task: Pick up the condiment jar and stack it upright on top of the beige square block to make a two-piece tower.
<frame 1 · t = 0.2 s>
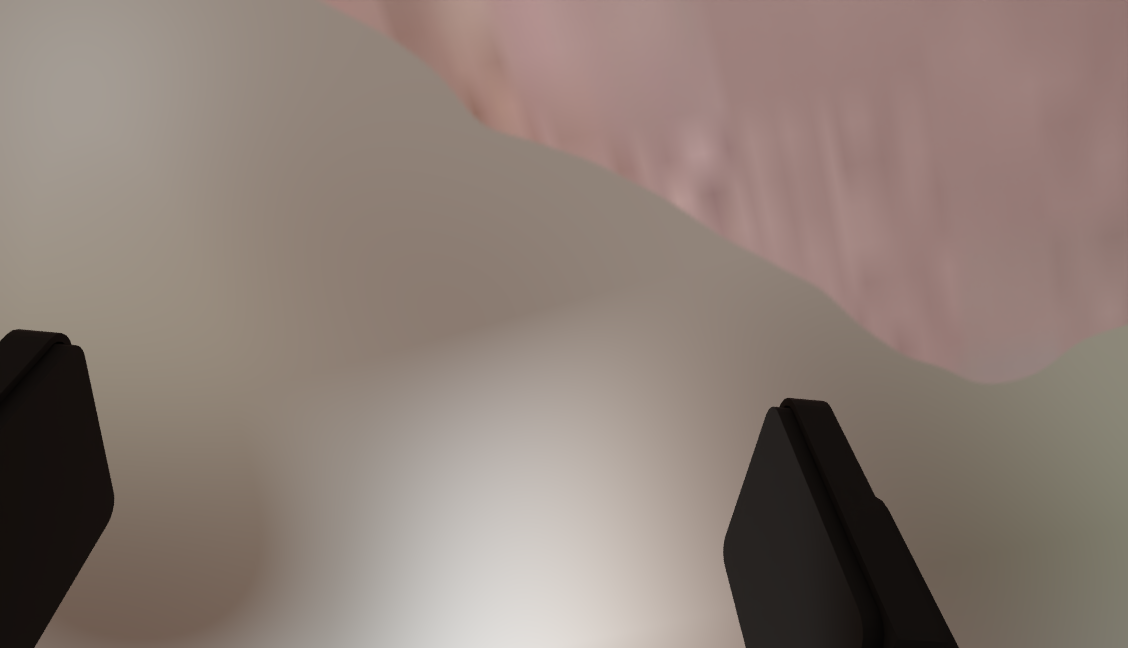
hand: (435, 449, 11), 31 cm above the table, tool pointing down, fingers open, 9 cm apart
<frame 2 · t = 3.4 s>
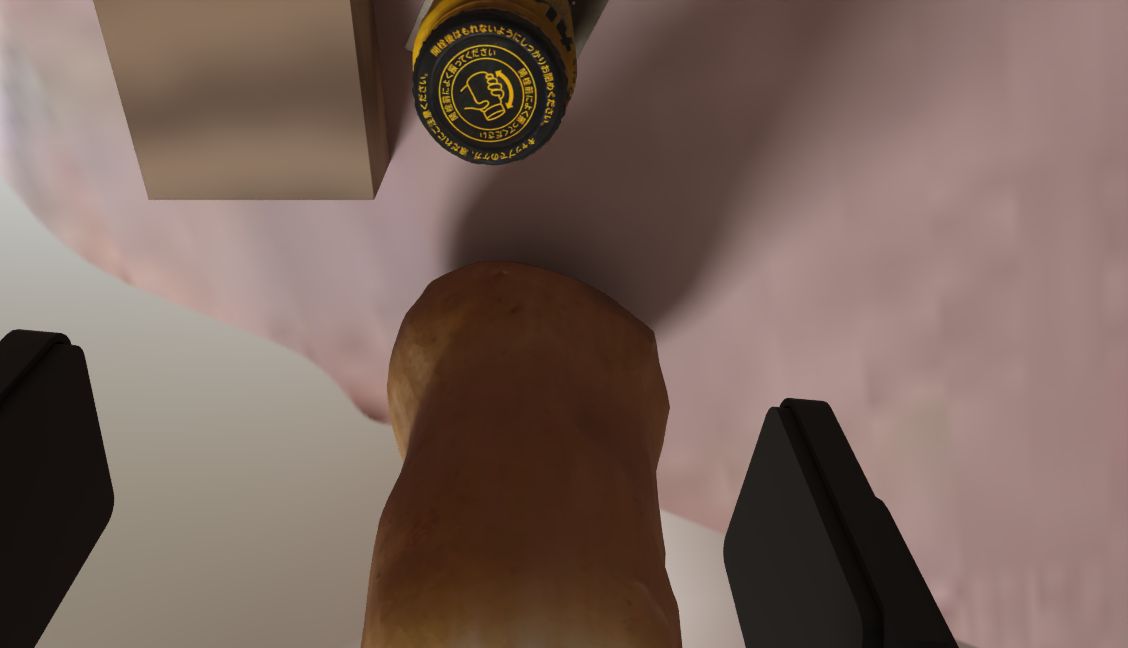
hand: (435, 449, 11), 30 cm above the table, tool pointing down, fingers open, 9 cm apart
butternut squash: (530, 321, 46), on the table
beige square block: (272, 57, 38), on the table
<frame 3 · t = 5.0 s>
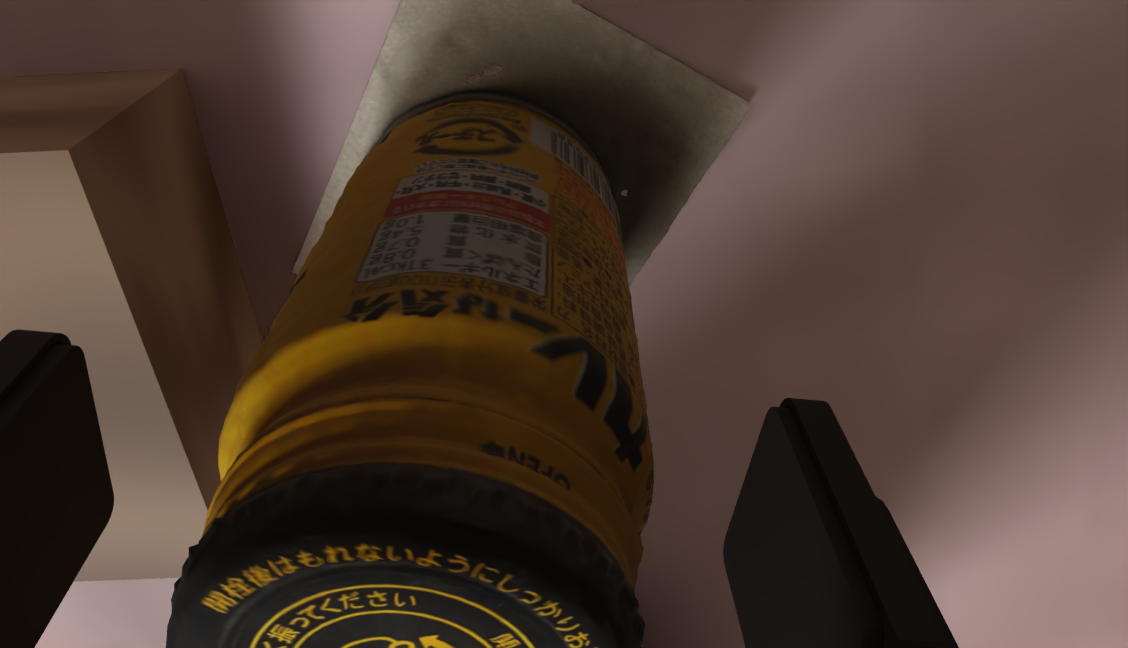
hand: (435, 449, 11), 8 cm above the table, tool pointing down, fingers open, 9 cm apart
condiment: (508, 185, 19), on the table
beige square block: (43, 281, 20), on the table
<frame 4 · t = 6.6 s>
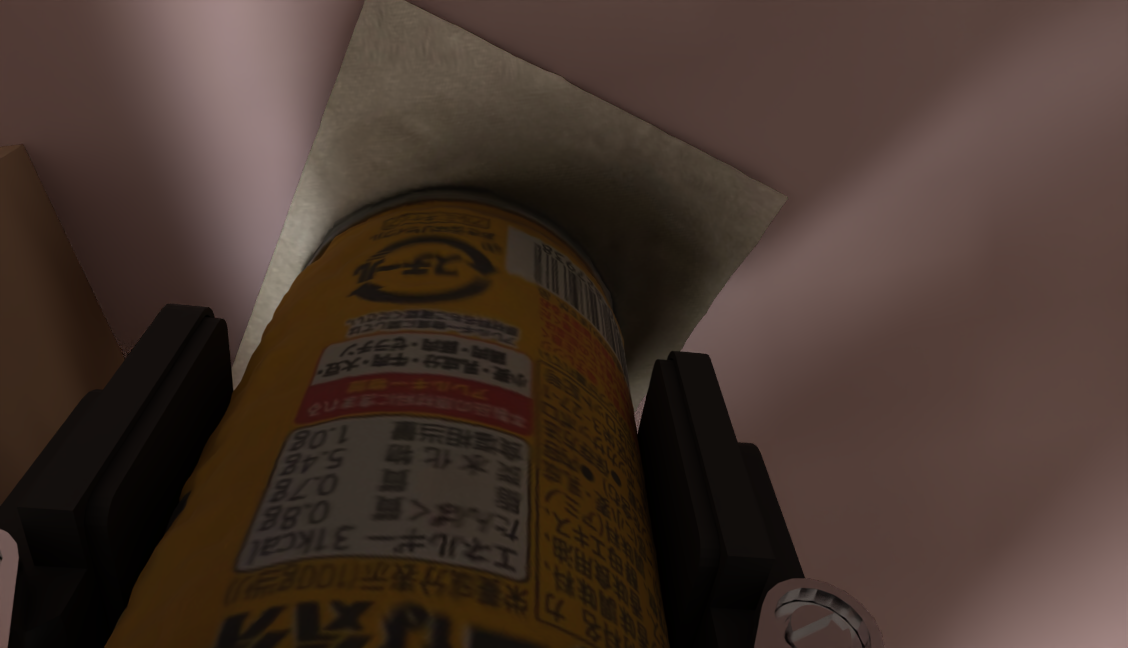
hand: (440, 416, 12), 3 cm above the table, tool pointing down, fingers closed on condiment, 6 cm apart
condiment: (483, 295, 15), on the table, touching gripper
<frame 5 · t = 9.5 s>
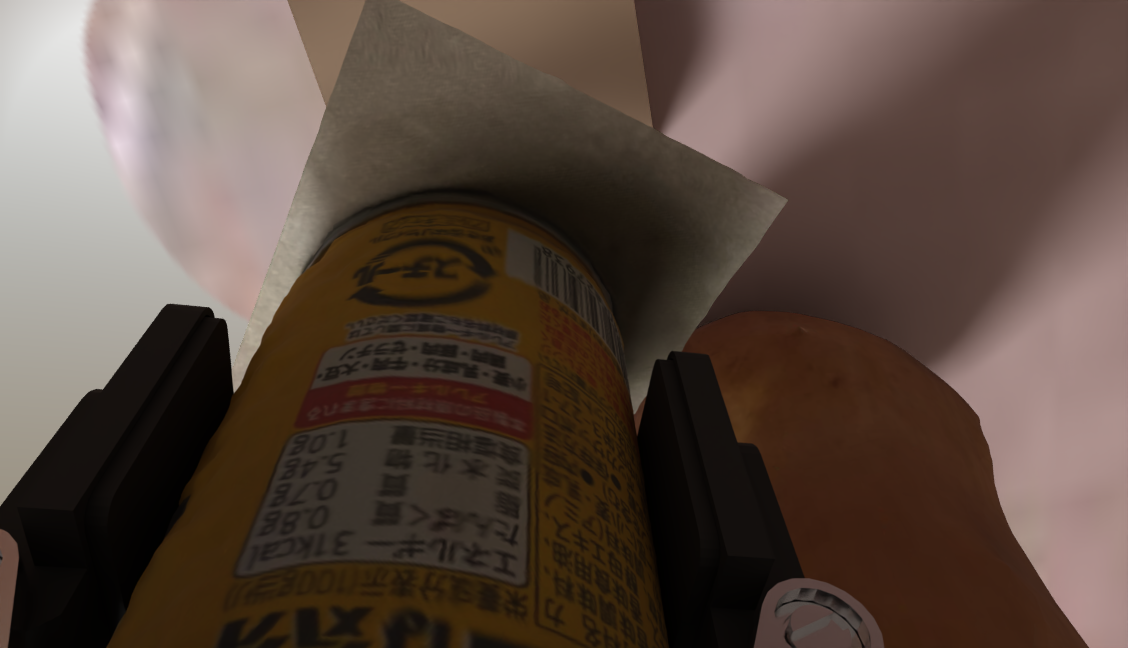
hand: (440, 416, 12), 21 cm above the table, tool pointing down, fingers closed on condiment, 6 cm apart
condiment: (483, 297, 15), point 17 cm above the table, touching gripper
butternut squash: (760, 375, 38), on the table
beige square block: (492, 54, 30), on the table
when the fingers open (9 cm above the table, at t = 12.3 s): condiment drops 2 cm, resting on beige square block.
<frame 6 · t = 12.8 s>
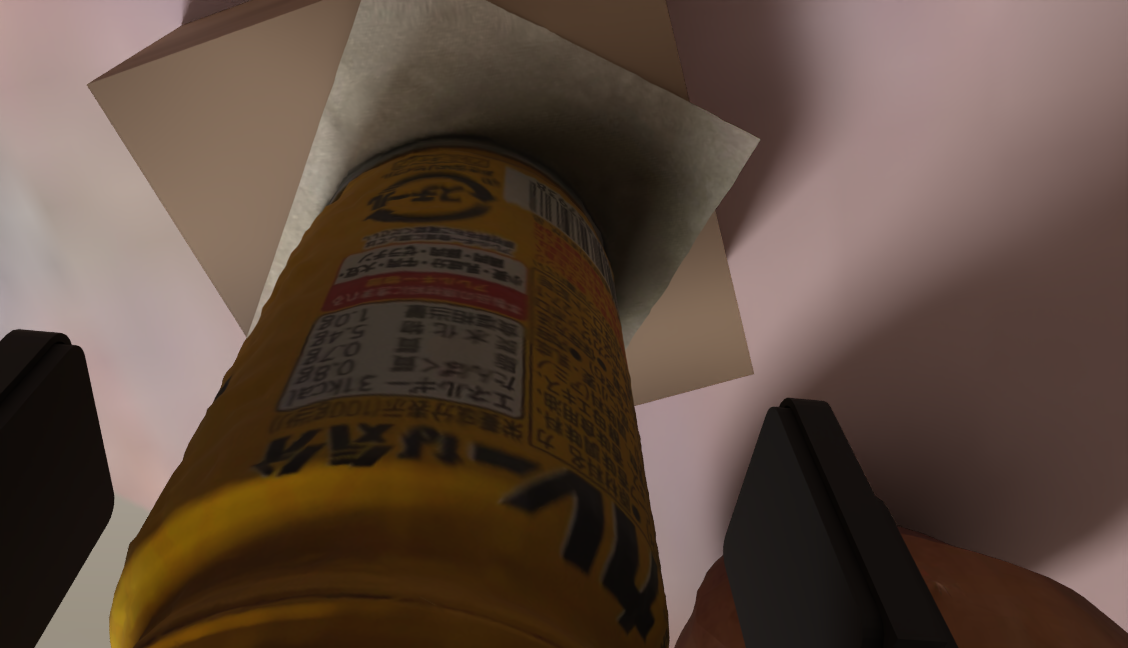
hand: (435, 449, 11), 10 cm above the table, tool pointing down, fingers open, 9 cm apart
condiment: (485, 239, 16), point 4 cm above the table, touching beige square block
butternut squash: (838, 564, 29), on the table
beige square block: (474, 155, 20), on the table, touching condiment
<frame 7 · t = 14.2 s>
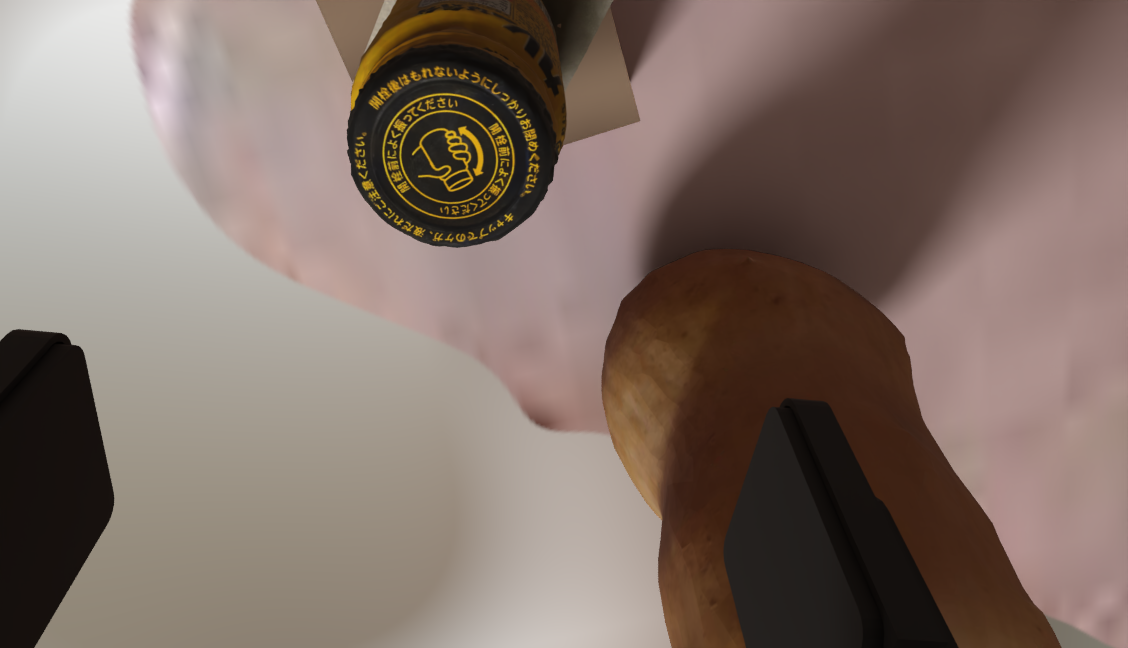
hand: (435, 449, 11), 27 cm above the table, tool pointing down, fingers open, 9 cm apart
condiment: (488, 22, 30), point 4 cm above the table, touching beige square block
butternut squash: (722, 316, 43), on the table
beige square block: (481, 8, 34), on the table, touching condiment
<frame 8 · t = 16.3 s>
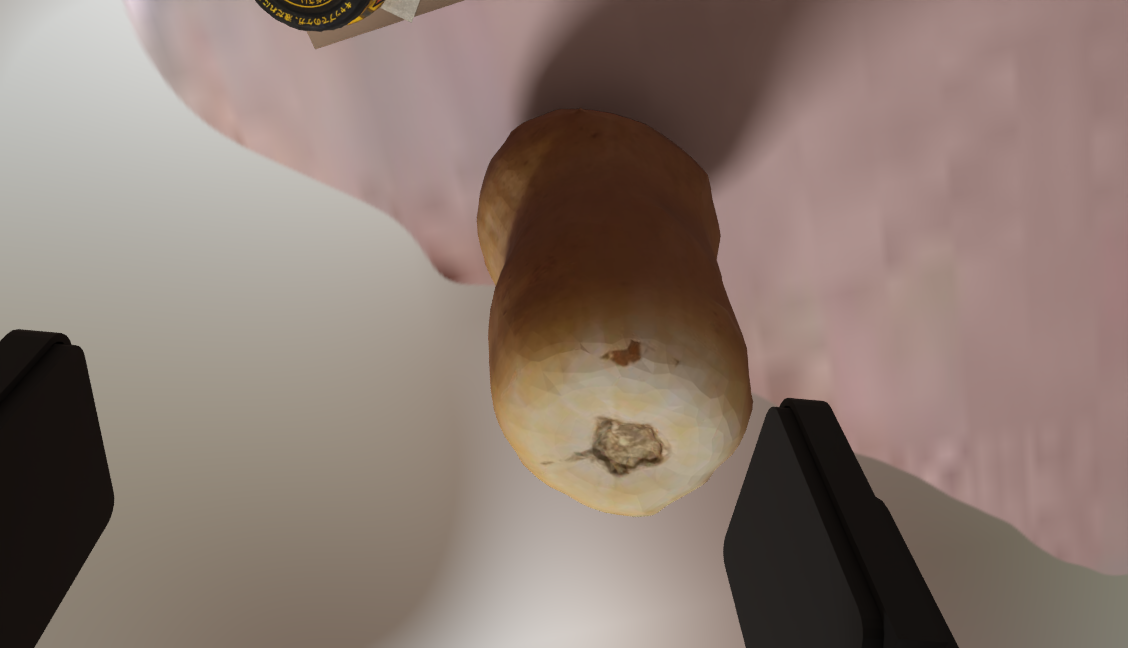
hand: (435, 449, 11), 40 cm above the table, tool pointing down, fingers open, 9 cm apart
butternut squash: (591, 182, 53), on the table
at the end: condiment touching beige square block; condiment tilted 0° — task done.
